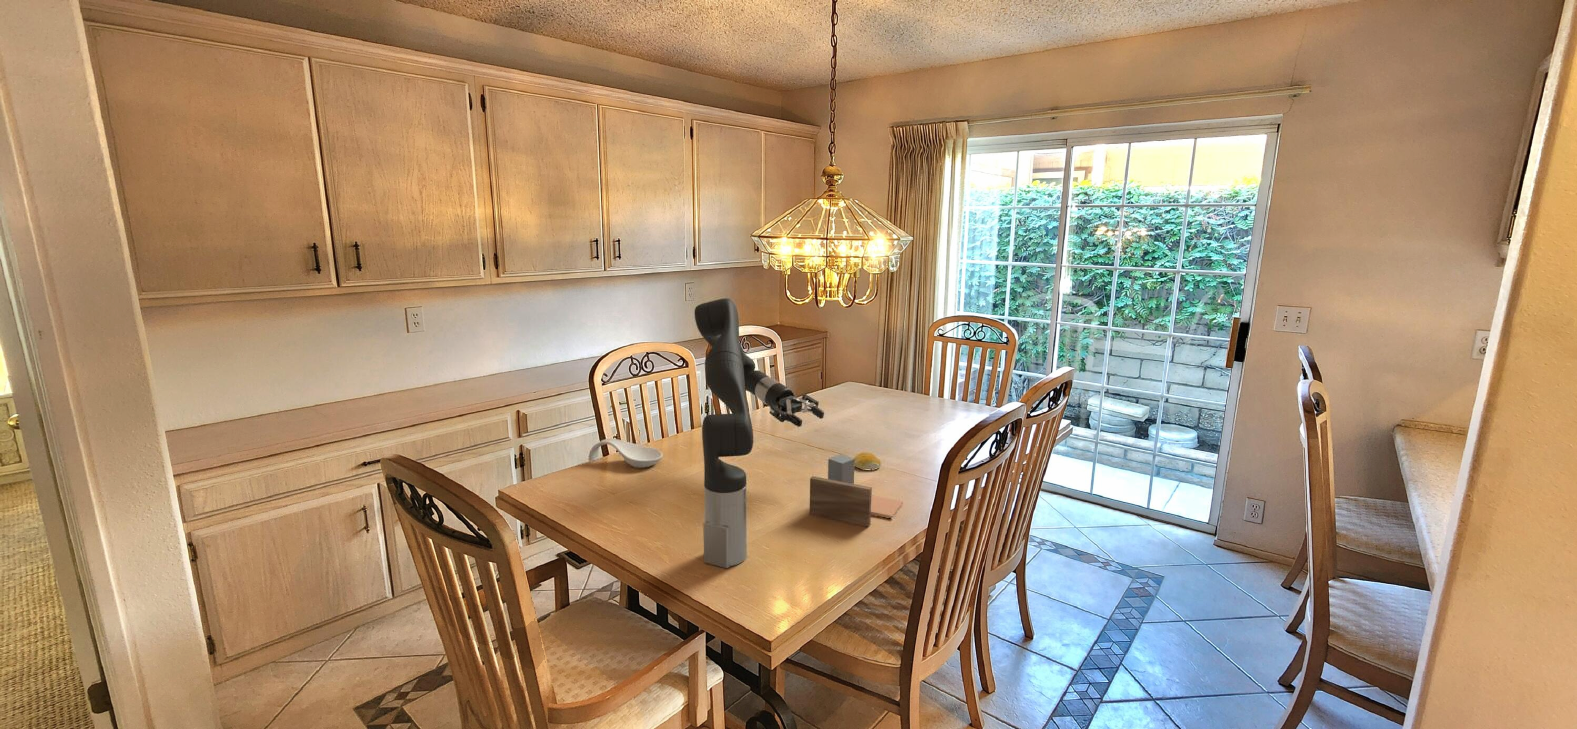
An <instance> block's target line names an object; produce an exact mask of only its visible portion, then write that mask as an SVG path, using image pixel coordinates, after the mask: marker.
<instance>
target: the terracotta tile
mask: <svg viewBox="0 0 1577 729" xmlns="http://www.w3.org/2000/svg"><path fill="white" fill-rule="evenodd" d="M902 504H904V501H903V500H900V499H899V500H898V499H893V498H889V497H883V496H879V495H873V494H872V495H871V516H872V515H876V516H875V517H877V516H881V517H880V518H882V517H887V518H893V519H894V517H895V516H896V515H897V513H898V512H897V511H898V509H899V508H900V507H901V508H902V506H903V505H902ZM901 505H902V506H901ZM901 508H900V509H901ZM900 509H899V510H900ZM896 512H897V513H896ZM895 514H896V515H895ZM894 515H895V516H894ZM893 516H894V517H893ZM887 518H886V519H887Z"/></svg>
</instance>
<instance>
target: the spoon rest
mask: <svg viewBox="0 0 1577 729" xmlns="http://www.w3.org/2000/svg"><path fill="white" fill-rule="evenodd" d="M603 445H604V446H605V445H609V446H612V447H613V448H615V450H616V451H617V452H618V453H619V455H620V456H621V457H622V458H623V460H624V462H626V463H627V464H628V465H630V466H632V468H635V467H636V469H644V468H645V467H646V468H650V467H651V466H654V465H656V464H657V463H659V462H660V461H661V459H662V458H663V455H664V454H663V452H662V451H661V450H659V449H658V448H655V447H651V446H646V445H642V444H641V445H640V444H637V443H633V442H628V441H625V440H622V439H618V438H606V439H602V440H600V441H599V442H597V443H595V444H594V445H592V447H591V449H590V451H589V454H588V457H587V458H588V460H587V461H588V462H592V461H594V460H596V459H597V458H598V457H599V449H600V447H602V446H603Z"/></svg>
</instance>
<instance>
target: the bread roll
mask: <svg viewBox="0 0 1577 729" xmlns="http://www.w3.org/2000/svg"><path fill="white" fill-rule="evenodd" d="M853 459H855V466H854V467H855V468H856V467H858V468H860V469H875V468H878V469H879V468H880V467H881V465H882V464H881V463H882V462H881V460H880V459H879V458H878V457H877V456H876V455H875V454H874V453H871V452H868V451H867V452H860V453H858V454H857V455H854V458H853ZM858 468H857V469H858ZM860 469H859V470H860Z"/></svg>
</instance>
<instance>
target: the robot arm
mask: <svg viewBox="0 0 1577 729" xmlns="http://www.w3.org/2000/svg"><path fill="white" fill-rule="evenodd" d="M693 313H694V320H695V325H696V327H697V330H698V332H699V333H700V335H701V336H702V337H703V339H704V340H705V341H706V342H707V344H709V346H711V347H710V348H709V351H708V352H707V354H706V356H705V360H704V375H705V383H706V385H707V387H708V388H709V390H710V391H711V393H712V394H714V395H715V397H717V399H719V401H721V402H722V403H723V404H724V405H725V406H726V407H727V408H728V409H729V410H730V413H718V414H717V413H714V414H713V413H712V414H707V415H706V416H705V417H704V418H703V420H702V425H701V437H702V438H701V439H702V451H703V452H702V453H703V463H704V464H703V472H704V477H703V480H704V481H703V482H704V483H703V484H704V486H703V490H704V491H703V492H704V522H703V523H702V526H703V527H702V530H703V532H702V533H703V536H702V538H703V562H704V563H706V564H709V565H712V566H717V567H721V568H723V569H729V568H730V567H732V566H736V565H739V564H741V563H742V562H744V561H745V560H746V559H747V556H748V555H747V553H748V551H747V549H748V544H747V542H748V541H747V537H748V536H747V534H748V533H747V527H748V526H747V473H746V472H745V470H744V469H742V468H741V467H739V466H736V465H732V464H729V463H727V462H725V461H723V460H721V458H727V457H728V458H729V457H741V456H743V457H744V456H746V455H749V454H751V452H752V449H753V448H754V431H753V424H752V418H751V413H750V411H749V410H750V409H749V404H748V400H747V395H746V391H747V392H749V393H751V394H752V395H753V396H755V397H756V398H758V399H759V401H760V402H762V403H764V404H765V405H767V406H768V407H769V414H770V415H771V416H773V417H774V418H775V419H776V420H778V421H779V422H780V423H784V422H785V421H786V422H788V423H789V422H790V423H791V424H792V425H794V426H796V427H798V428H799V427H802V424H803V419H802V418H800V417H798V416H797V415H795V414H796V413H805V414H806V413H811V414H812V415H814V416H816V417H817V418H819V419H820V420H821V419H824V416H825V411H824V410H822V409H821V408H819V403H820V402H819V401H818V400H816V399H814V398H813V397H811V396H810V395H807V394H805V393H803V394H802V397H798V396H795V394H794V392H793V390H792V389H790V388H789V387H788V386H786V385H784V384H782V383H781V382H780V381H778V380H777V379H774V378H773V377H770V376H769V375H767V374H766V373H765V372H763V371H761V370H756V363H755V362H754V360H753V359H752V358H751V357H749V355H747V354H745V352H744V350H743V348H742V344H740V323H739V322H740V321H739V320H740V319H739V313H738V308H737V306H736V304H735V302H734V301H733V300H732V299H731V298H726V297H725V298H720V299H716V300H711V301H707V302H703V303H700V304H698V305H696V307H694V312H693ZM803 405H804V407H803ZM808 407H809V408H808Z"/></svg>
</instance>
